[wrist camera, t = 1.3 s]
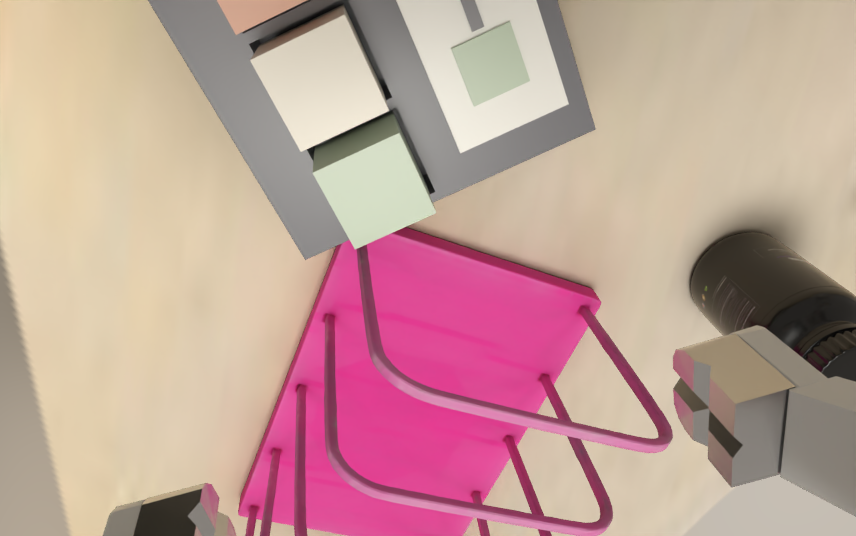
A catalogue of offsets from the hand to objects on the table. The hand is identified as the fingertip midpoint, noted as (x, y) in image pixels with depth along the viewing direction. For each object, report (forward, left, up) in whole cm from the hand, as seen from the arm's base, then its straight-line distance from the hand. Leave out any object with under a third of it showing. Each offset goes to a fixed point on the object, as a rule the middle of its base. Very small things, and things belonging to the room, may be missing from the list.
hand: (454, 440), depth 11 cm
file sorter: (+7, +21, -28) cm, 36 cm away
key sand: (+2, -2, -24) cm, 25 cm away
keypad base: (-1, -2, -28) cm, 28 cm away
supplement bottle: (-17, +22, -28) cm, 39 cm away
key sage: (+2, +3, -24) cm, 25 cm away
